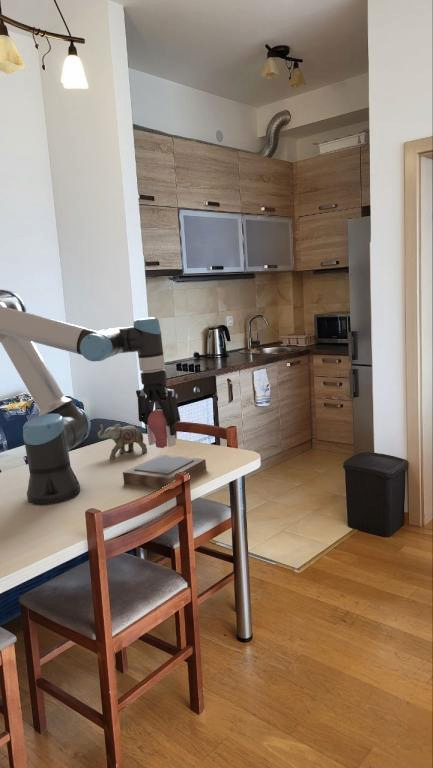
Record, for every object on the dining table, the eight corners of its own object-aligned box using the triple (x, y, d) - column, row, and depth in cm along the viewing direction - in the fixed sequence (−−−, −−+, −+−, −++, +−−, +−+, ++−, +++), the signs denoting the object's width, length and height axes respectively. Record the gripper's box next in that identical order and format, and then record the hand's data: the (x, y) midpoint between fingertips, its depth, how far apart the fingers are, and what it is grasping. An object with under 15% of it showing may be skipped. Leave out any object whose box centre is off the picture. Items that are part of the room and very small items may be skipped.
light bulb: (176, 443, 178) (171, 405, 176) (172, 450, 171) (167, 411, 169) (153, 445, 178) (148, 407, 176) (148, 452, 171) (143, 413, 169)
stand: (124, 483, 174) (122, 470, 173) (161, 465, 188) (160, 453, 188) (170, 490, 164) (169, 476, 163) (206, 470, 178) (205, 457, 178)
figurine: (113, 461, 211) (99, 422, 210) (150, 449, 210) (136, 410, 209) (107, 467, 202) (92, 427, 200) (145, 454, 200) (131, 414, 199)
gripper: (187, 367, 168) (196, 443, 172) (136, 368, 179) (145, 439, 183) (171, 372, 162) (180, 450, 166) (119, 372, 173) (129, 446, 177)
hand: (162, 444), depth 174 cm, fingers closed on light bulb, 7 cm apart
